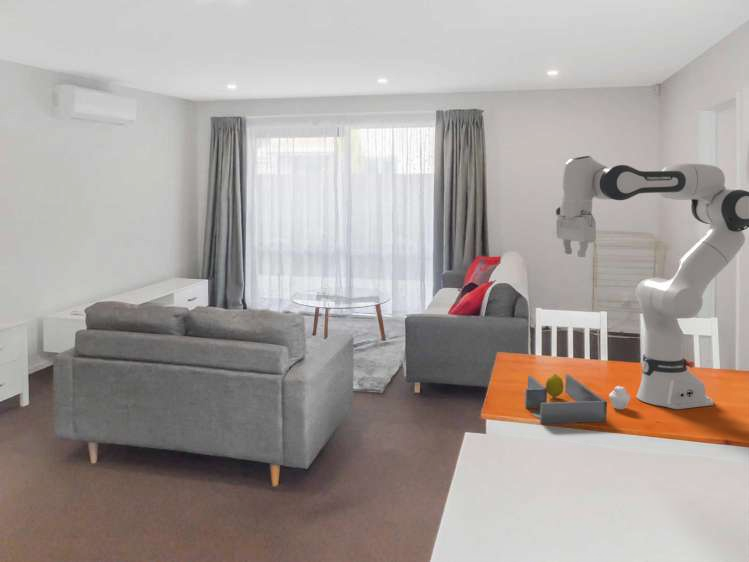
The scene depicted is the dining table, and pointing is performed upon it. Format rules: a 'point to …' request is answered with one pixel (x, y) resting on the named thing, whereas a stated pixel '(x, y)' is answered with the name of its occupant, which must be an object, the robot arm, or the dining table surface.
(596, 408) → the rail corridor
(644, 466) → the dining table surface
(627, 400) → the white rounded piece
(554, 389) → the lemon
